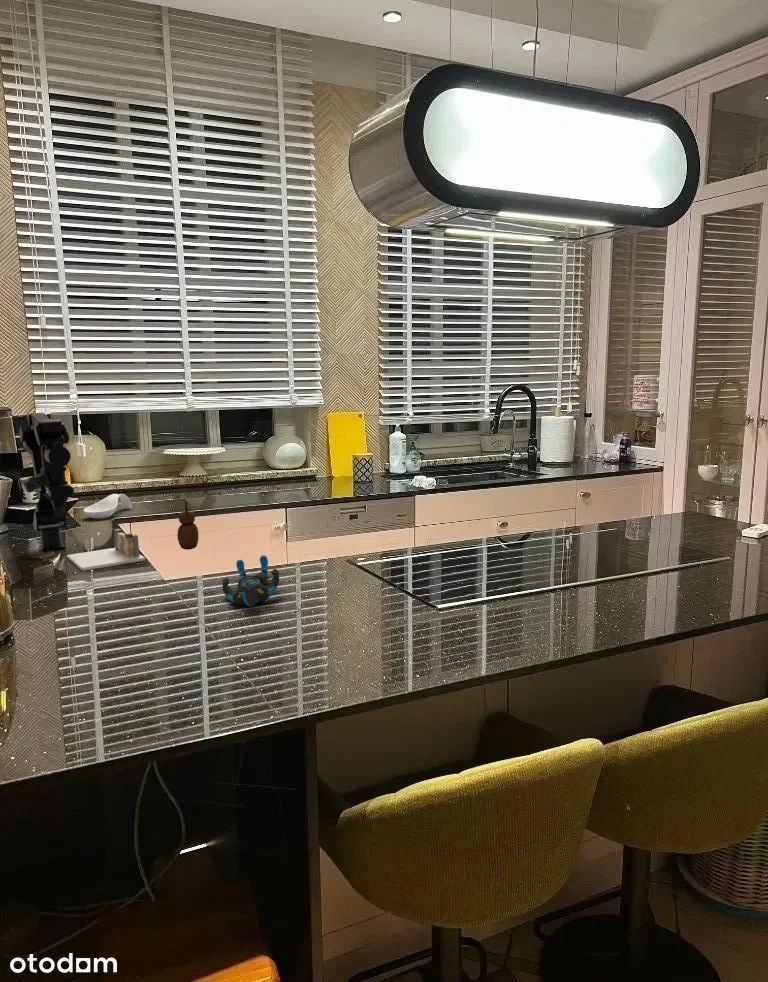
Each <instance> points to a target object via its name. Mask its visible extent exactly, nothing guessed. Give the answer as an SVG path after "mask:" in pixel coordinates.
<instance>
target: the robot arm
mask: <svg viewBox="0 0 768 982" xmlns="http://www.w3.org/2000/svg"><path fill="white" fill-rule="evenodd" d="M19 441H20V443H21V442H22V445H23V449H24V450H25V451H26V452H27V453H28V454H29V455H30V457H31V462H32V469H33V474H34V475H32V476H31V477H28V478H26V479H23V480H22V481H21V483H22V485H23V487H24V489H25V491H26V492H27V493H32V492H35V490H36V491H37V496H38V501H37V503H36V505H35V507H34V511H33V530H34V531H36V532H40V540H41V541H40V543H41V545H39V546H38V548H39V549H40V550H41V551H42V552H45V551H52V550H59V549H65V548H66V545H64V544H63V543H62V533H61V529H62V528H63V529H64V528H65V529H66V528H67V526H68V525H67V524H68V521H67V518H68V517H67V516H68V513H67V511H66V510H65V507H66V505H67V501H68V500H69V497H70V496H75V488H74V487H73V486H71V485H70V484H68V483H69V482H68V480H67V478H66V477H67V476H66V471H67V467H66V466H67V465H68V464H69V463H70V461H71V456H72V455H71V453H70V451H69V449H67V448H66V447H64V445H66V444H69V443H70V442H69V441H70V435H69V433H68V429H67V427H66V425H65V423H64V422H62V420H61V419H51V418H50V417H48V416H47V414H46V413H45V412H33V413H31V412H30V413H28V414H27V416H26V419H25V420H24V421H23V422H21V424H20V425H19Z"/></svg>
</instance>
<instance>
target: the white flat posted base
mask: <svg viewBox="0 0 768 982" xmlns="http://www.w3.org/2000/svg"><path fill="white" fill-rule="evenodd" d="M131 535H132V538H133V545H134V556H128V555H127V554H125V553H123V552H122V551H120V550H119V549H118V546H117V535H116V532H114V531H113V538H114V539H113V540H114V547H113V548H105V549H99V550H97V549H96V550H92V551H85V552H78V553H72V554H67V555H66V556H67V560H69V561H70V562H72V563H73V564H74V565H75V566H76V567H77V568H78V569H80V570H81V571H82V572H83V571H89V570H95V569H101V568H108V567H114V566H120V565H125V564H132V563H137V562H145V561H146V557H145V556H143V555H142V554H140V548H139V545H140V543H139V535H138V534H136V533H135V534H133V533H132V534H131Z"/></svg>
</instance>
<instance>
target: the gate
mask: <svg viewBox="0 0 768 982" xmlns="http://www.w3.org/2000/svg"><path fill="white" fill-rule="evenodd" d="M114 532H116V535H117V546H118V549H119V550H120V551H122V552H123V553H125V554H127V555H128V556H134V545H133V538H132V535H133V534H132V533H129V532H128V533H124V532H123V529H121V528H113V533H114Z"/></svg>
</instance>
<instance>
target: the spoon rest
mask: <svg viewBox="0 0 768 982" xmlns="http://www.w3.org/2000/svg"><path fill="white" fill-rule="evenodd" d="M119 499H120V508H121V509H122V510H123V509H124V510H126V509H127V510H131V509H133V504H132V502H131V500H130V498H129V497H128V496H127V495H126V494H124V493H120V494H117V493H112V494H109V495H108V496H106V497H104V498H103V499H101V500H100V501H97V502H95V503H94V504H91V505H89V506H87V507H85V508H84V509H83V513H84V514H85V515H86V516H87V517H89V518H90V519H94V520H103V519H108V518H111V516H112V515H113V514H114V513H115V512H116V510H117V509H118V504H119Z"/></svg>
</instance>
